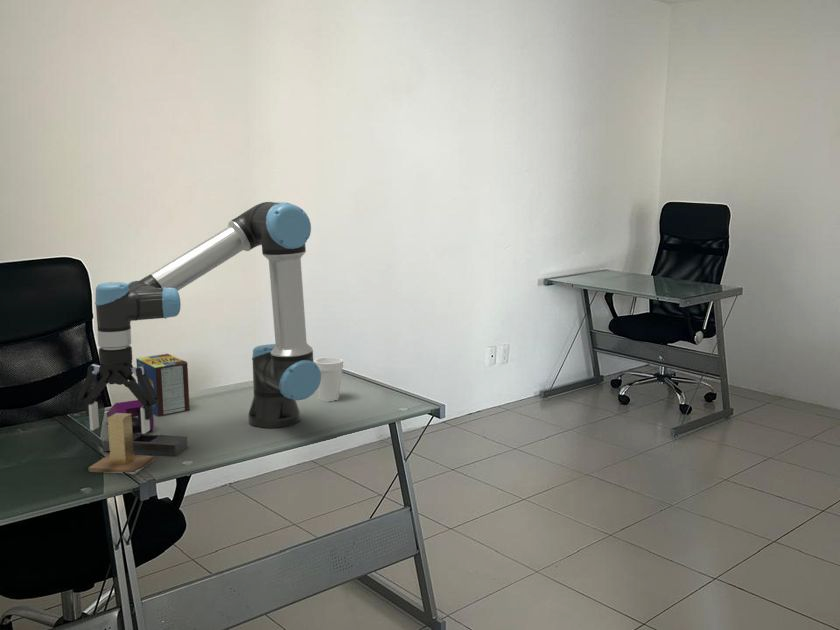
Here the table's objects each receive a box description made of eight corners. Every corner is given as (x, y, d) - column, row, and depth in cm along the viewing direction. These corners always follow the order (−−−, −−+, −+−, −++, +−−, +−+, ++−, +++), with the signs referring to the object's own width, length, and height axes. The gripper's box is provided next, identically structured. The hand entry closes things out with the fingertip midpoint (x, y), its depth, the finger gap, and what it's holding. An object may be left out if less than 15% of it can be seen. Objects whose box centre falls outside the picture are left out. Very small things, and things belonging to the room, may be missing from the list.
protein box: (170, 399, 250) (167, 353, 248) (190, 410, 239) (188, 361, 236) (137, 405, 244) (135, 357, 241) (157, 417, 232) (154, 367, 229)
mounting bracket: (108, 443, 226) (120, 433, 212) (104, 415, 228) (115, 403, 213) (141, 437, 231) (155, 427, 217) (137, 410, 233) (150, 398, 218)
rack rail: (187, 447, 206) (187, 436, 206) (175, 456, 199) (175, 445, 199) (117, 442, 209) (117, 432, 209) (103, 451, 202) (102, 440, 202)
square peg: (133, 459, 194) (131, 413, 192) (125, 465, 190) (122, 418, 188) (119, 458, 195) (116, 412, 193) (110, 464, 191) (107, 417, 189)
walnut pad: (154, 460, 197) (154, 456, 196) (134, 474, 187) (134, 470, 187) (110, 457, 198) (110, 453, 198) (88, 471, 189) (88, 467, 188)
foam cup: (341, 403, 248) (341, 364, 246) (312, 403, 248) (312, 363, 246) (344, 395, 257) (344, 357, 255) (316, 394, 258) (316, 357, 255)
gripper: (170, 345, 189) (174, 428, 193) (76, 341, 193) (82, 422, 196) (156, 351, 182) (160, 438, 186) (58, 347, 185) (64, 432, 189)
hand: (120, 430), depth 191 cm, fingers open, 13 cm apart
